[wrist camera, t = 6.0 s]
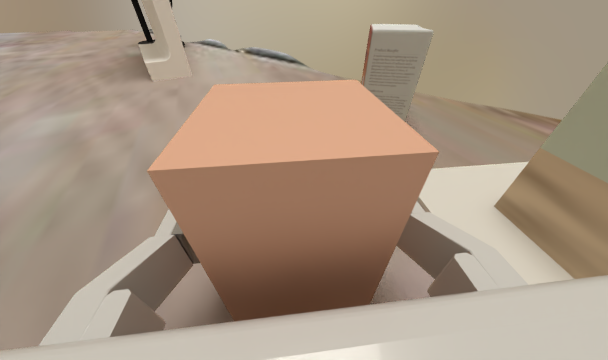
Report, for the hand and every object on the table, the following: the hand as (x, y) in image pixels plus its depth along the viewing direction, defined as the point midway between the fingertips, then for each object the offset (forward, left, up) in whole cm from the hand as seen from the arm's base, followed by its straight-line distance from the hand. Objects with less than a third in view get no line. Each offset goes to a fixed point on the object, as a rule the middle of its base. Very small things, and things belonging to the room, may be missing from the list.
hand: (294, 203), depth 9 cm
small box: (-14, +19, -6) cm, 25 cm away
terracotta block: (+1, 0, -6) cm, 6 cm away
